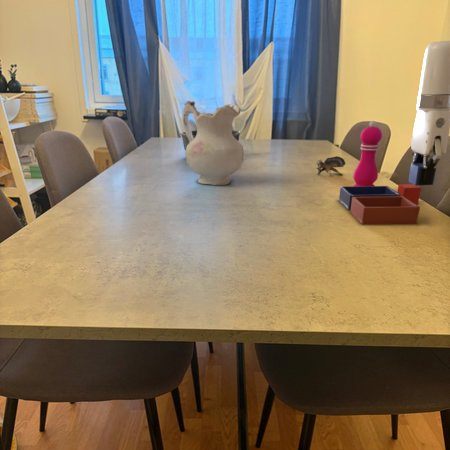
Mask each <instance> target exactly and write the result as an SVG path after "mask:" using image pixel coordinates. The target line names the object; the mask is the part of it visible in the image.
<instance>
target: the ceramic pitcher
mask: <svg viewBox="0 0 450 450" xmlns="http://www.w3.org/2000/svg"><path fill="white" fill-rule="evenodd" d="M183 104H184V106H183V109H182V117H181V118H182V119H181V120H182V127H183V131H184V132H185V133H186V136H187V137H188V139H189V141H190V143H189V144H188V146H187V147H186V151H185V160H186V163H187V166H189V168H190V170H191V171H192V172H193V173H194V174H196V175H197V176H199V179H198V180H197V182H198V183H199V184H202V185H203V184H204V185H213V186H227V185H229V184H230V183H231V182H232V177H231V175H233V174H235V173H237V172H238V171H239V169H240V168H241V166H242V164H243V162H244V154H245V150H244V146H243V144H242V143H241V141H240V140H239V141H238V140H236V139H235V138H234V136H233V134H232V126H233V123H234V119H235V118H237V117H238V116H239V115H240V114H241V108H240V106H239V104H235V106H234V105H232V106H231V104H225V105H223V106H220V107H217V108H215V111H214V112H213V113H212V112H211V113H210V112H200V111H198V110H197V107H196V106H195V105H196V101H193V100H192V101H190V100H188V101H187V100H186V101H185V103H183ZM190 114H192V117H193V119H194V122H195V126H196V130H197V135H196V137H195V138H193V135H192V131H193V130H192V129H191V127H190V125H189V115H190Z"/></svg>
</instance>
